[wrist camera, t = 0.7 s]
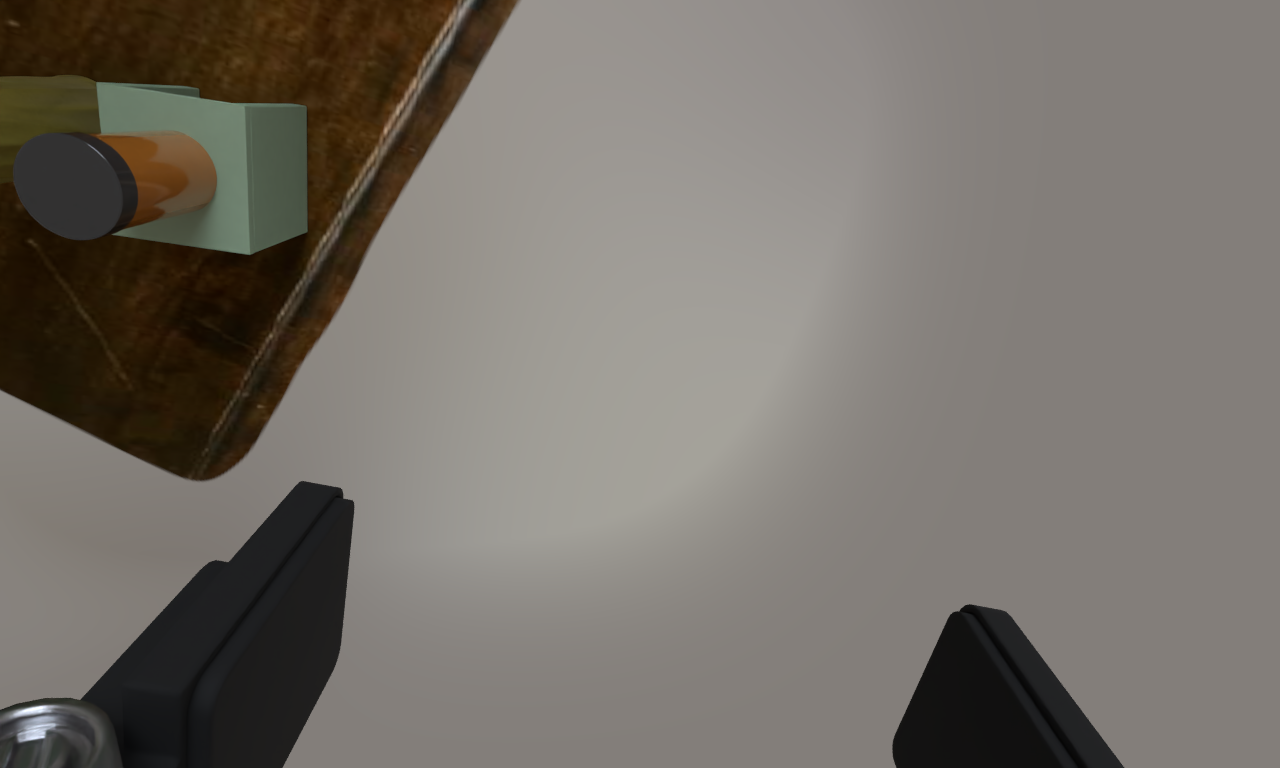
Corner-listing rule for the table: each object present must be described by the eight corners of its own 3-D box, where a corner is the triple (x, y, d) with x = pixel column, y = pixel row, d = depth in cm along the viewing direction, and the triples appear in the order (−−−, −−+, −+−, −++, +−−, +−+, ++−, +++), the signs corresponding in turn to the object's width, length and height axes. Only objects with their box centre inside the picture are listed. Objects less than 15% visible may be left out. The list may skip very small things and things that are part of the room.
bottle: (128, 120, 39) (4, 124, 31) (217, 135, 39) (116, 141, 31) (135, 208, 40) (20, 232, 33) (221, 221, 41) (126, 247, 33)
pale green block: (183, 85, 45) (95, 82, 38) (307, 105, 46) (244, 106, 38) (190, 214, 48) (110, 234, 41) (307, 232, 49) (249, 255, 41)
